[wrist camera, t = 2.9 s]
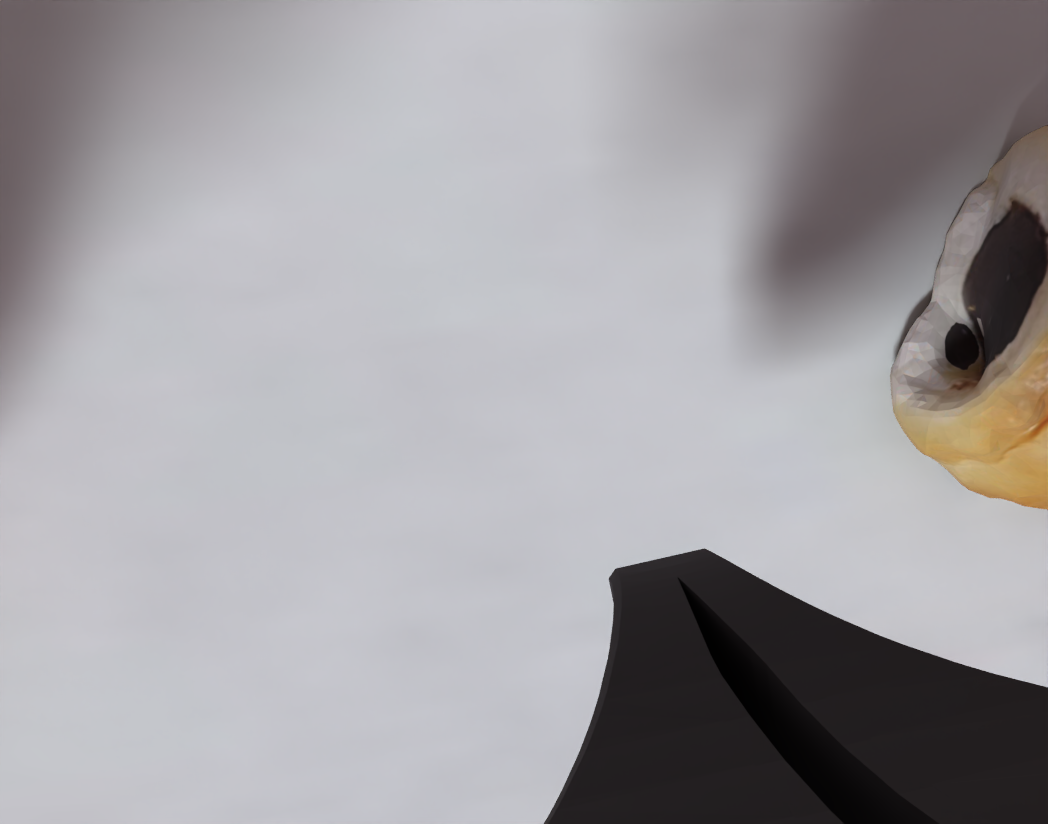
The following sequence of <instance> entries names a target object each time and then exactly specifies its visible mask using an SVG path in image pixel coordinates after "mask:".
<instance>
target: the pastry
mask: <svg viewBox="0 0 1048 824" xmlns="http://www.w3.org/2000/svg"><path fill="white" fill-rule="evenodd" d="M890 382H891V395H892V404H893V412H894V414H895V417H896V419H897V421H898V422H899V424H900V426H901V428H902V429H903V431H904V432H905V434H906V435H907V437H908V438H909V439H910V441H911V442H912V443H913V444H914V446H915V447H916V448H917V449H918V450H919V451H920V452H922V453H923V454H924V455H927V456H929V457H931V458H932V459H934V460H935V461H937V462H938V463H939V464H940V465H942V466H943V467H944V468H945V469H947V470H948V471H949V472H950V473H951V474H952V475H953V476H954V477H955V478H956V479H957V480H958V481H959V482H960V483H961V484H962V485H963V486H965V487H966V488H967V489H968V490H971V491H973V492H976V493H979V494H982V495H984V496H987V497H989V498H1001V499H1005V500H1008V501H1012V502H1015V503H1017V504H1020V505H1023V506H1027V507H1034V508H1041V509H1047V510H1048V125H1047V126H1044V127H1041V128H1039V129H1037V130H1035V131H1033V132H1031V133H1029V134H1027V135H1026V136H1024V137H1023V138H1021V139H1020V140H1018V141H1017V142H1016V143H1014V144H1013V146H1012V147H1011V148H1010V150H1009V151H1008V152H1007V154H1006V155H1005V156H1004V158H1003V159H1002V160H1001V161H999V162H997V163H996V164H994V165H993V167H992V168H991V169H990V171H989V174H988V177H987V180H986V181H985V182H984V183H983V184H982V185H981V186H980V187H979V188H977V189H974V190H973V191H972V192H971V193H970V194H969V195H968V197H967V198H966V200H965V202H964V204H963V206H962V208H961V210H960V212H959V214H958V215H957V217H956V219H955V220H954V222H953V223H952V225H951V227H950V229H949V231H948V233H947V235H946V243H945V248H944V251H943V254H942V256H941V259H940V262H939V264H938V267H937V270H936V275H935V281H934V286H933V293H932V299H931V302H930V304H929V305H928V307H927V308H926V309H925V311H924V312H923V313H922V314H921V316H920V317H918V318H917V319H916V321H915V322H914V324H913V325H912V327H911V328H910V330H909V332H908V334H907V336H906V338H905V340H904V342H903V344H902V346H901V348H900V350H899V352H898V355H897V358H896V360H895V362H894V364H893V366H892V368H891V374H890Z"/></svg>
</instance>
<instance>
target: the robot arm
mask: <svg viewBox="0 0 1048 824" xmlns="http://www.w3.org/2000/svg"><path fill="white" fill-rule="evenodd" d="M609 582H610V587H611V592H612V597H613V602H614V615H613V627H612V634H611V642H610V650H609V655H608V660H607V665H606V669H605V673H604V677H603V681H602V685H601V690H600V694H599V697H598V701H597V704H596V707H595V711H594V714H593V717H592V720H591V723H590V726H589V728H588V731H587V734H586V736H585V739H584V742H583V744H582V747H581V749H580V752H579V754H578V756H577V759H576V761H575V763H574V765H573V767H572V770H571V772H570V774H569V776H568V778H567V781H566V783H565V785H564V787H563V789H562V791H561V793H560V795H559V797H558V799H557V801H556V803H555V805H554V807H553V809H552V810H551V812H550V814H549V816H548V818H547V819H546V821H545V823H544V824H1048V688H1047V687H1044V686H1040V685H1036V684H1032V683H1028V682H1024V681H1020V680H1016V679H1012V678H1008V677H1004V676H1000V675H996V674H993V673H989V672H986V671H982V670H979V669H976V668H972V667H969V666H965V665H962V664H959V663H956V662H953V661H950V660H947V659H944V658H941V657H938V656H935V655H932V654H929V653H926V652H923V651H920V650H917V649H914V648H912V647H909V646H906V645H903V644H900V643H898V642H895V641H892V640H890V639H887V638H885V637H882V636H879V635H877V634H874V633H872V632H870V631H867V630H865V629H863V628H861V627H858V626H856V625H854V624H851V623H849V622H847V621H844V620H842V619H840V618H837V617H835V616H833V615H831V614H829V613H827V612H824V611H822V610H820V609H818V608H816V607H814V606H812V605H810V604H808V603H806V602H804V601H802V600H800V599H798V598H796V597H794V596H792V595H790V594H788V593H786V592H784V591H782V590H780V589H778V588H776V587H775V586H773V585H771V584H769V583H767V582H765V581H763V580H762V579H760V578H758V577H756V576H754V575H752V574H751V573H749V572H747V571H745V570H743V569H742V568H740V567H738V566H736V565H734V564H733V563H731V562H729V561H727V560H726V559H724V558H722V557H720V556H718V555H716V554H715V553H713V552H711V551H709V550H707V549H701V550H696V551H692V552H687V553H683V554H679V555H674V556H670V557H665V558H661V559H657V560H652V561H648V562H643V563H639V564H635V565H630V566H626V567H621V568H617V569H615V570H614V572H613V573H612V575H611V576H610V577H609Z"/></svg>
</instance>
